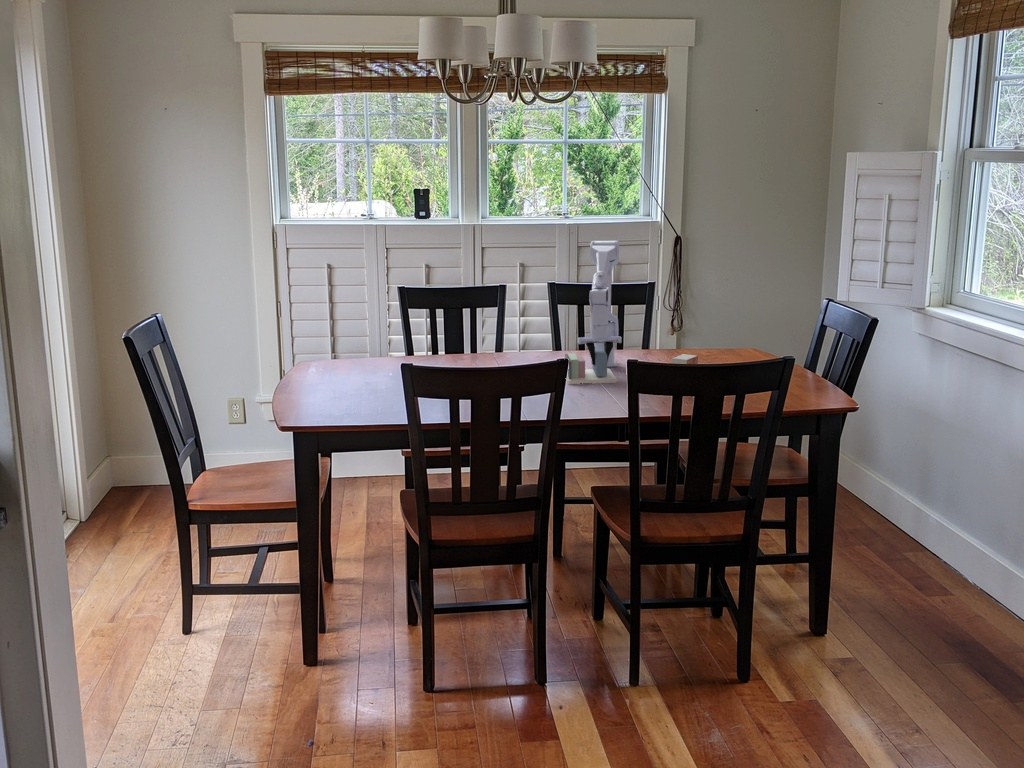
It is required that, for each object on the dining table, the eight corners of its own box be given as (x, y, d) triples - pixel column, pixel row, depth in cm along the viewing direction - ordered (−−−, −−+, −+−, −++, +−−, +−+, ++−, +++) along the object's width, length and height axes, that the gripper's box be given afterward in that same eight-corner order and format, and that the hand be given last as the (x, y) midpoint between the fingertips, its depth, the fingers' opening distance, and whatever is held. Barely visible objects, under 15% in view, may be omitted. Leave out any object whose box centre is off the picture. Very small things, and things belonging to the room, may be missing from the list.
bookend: (564, 371, 338) (564, 354, 336) (567, 371, 338) (567, 354, 336) (568, 379, 326) (568, 361, 325) (571, 379, 326) (571, 361, 325)
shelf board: (563, 373, 340) (563, 369, 340) (609, 371, 341) (609, 368, 340) (568, 384, 324) (568, 380, 324) (616, 382, 325) (616, 379, 325)
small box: (686, 392, 311) (686, 359, 308) (670, 390, 314) (670, 357, 312) (697, 387, 317) (698, 355, 315) (682, 385, 320) (682, 353, 318)
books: (567, 371, 337) (567, 353, 335) (581, 371, 337) (581, 353, 335) (571, 378, 327) (570, 359, 326) (585, 378, 327) (585, 359, 326)
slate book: (592, 369, 337) (592, 349, 335) (602, 368, 337) (602, 348, 335) (596, 375, 327) (596, 355, 325) (607, 375, 327) (607, 354, 325)
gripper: (579, 327, 324) (579, 367, 327) (623, 326, 325) (622, 366, 328) (576, 323, 331) (577, 363, 334) (619, 322, 332) (619, 361, 335)
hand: (599, 364), depth 332 cm, fingers closed on slate book, 3 cm apart
